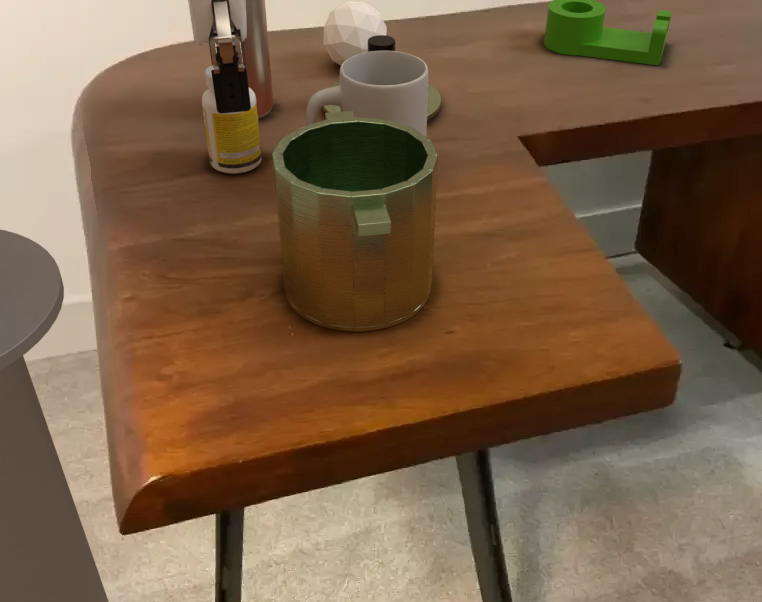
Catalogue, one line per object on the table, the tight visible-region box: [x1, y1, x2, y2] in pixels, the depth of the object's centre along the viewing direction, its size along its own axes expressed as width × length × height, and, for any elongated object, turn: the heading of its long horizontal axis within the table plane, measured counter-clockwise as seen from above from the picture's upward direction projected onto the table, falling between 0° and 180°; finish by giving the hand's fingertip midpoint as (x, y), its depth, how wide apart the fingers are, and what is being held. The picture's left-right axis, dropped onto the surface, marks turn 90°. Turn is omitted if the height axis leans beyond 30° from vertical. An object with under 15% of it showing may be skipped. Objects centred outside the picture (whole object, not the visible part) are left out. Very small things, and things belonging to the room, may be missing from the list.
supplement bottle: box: [201, 64, 263, 175], centre depth 92 cm, size 5×5×10 cm
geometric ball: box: [322, 0, 388, 66], centre depth 111 cm, size 8×8×8 cm
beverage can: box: [212, 0, 274, 120], centre depth 99 cm, size 6×6×15 cm
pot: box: [271, 111, 439, 333], centre depth 75 cm, size 13×18×12 cm
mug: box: [305, 50, 429, 137], centre depth 90 cm, size 12×8×11 cm
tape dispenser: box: [543, 0, 673, 66], centre depth 116 cm, size 15×7×5 cm, turn 71°
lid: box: [321, 35, 442, 121], centre depth 102 cm, size 14×14×8 cm
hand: (231, 88), depth 90 cm, fingers open, 9 cm apart
